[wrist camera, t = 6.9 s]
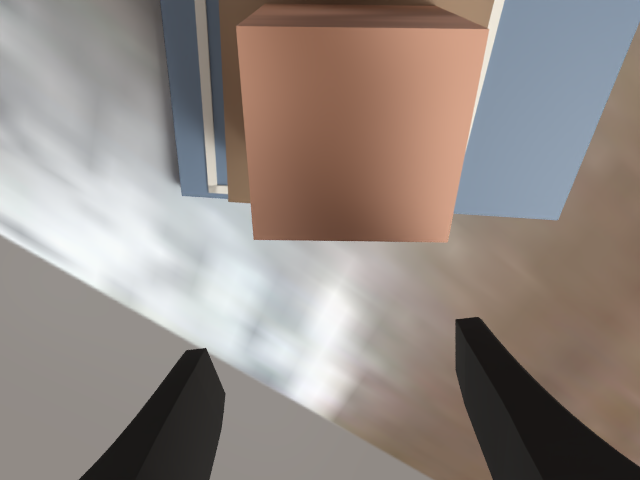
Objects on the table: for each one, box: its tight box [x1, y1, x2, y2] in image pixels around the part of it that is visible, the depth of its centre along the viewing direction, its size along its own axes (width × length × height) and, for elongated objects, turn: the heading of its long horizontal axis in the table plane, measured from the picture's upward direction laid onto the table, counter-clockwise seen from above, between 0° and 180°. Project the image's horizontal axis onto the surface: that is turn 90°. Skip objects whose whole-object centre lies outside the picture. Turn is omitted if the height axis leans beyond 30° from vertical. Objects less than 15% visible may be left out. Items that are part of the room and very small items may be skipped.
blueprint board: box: [160, 0, 640, 220], centre depth 17 cm, size 18×16×1 cm
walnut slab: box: [219, 0, 494, 203], centre depth 16 cm, size 8×8×4 cm
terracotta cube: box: [236, 4, 489, 242], centre depth 12 cm, size 5×5×5 cm
